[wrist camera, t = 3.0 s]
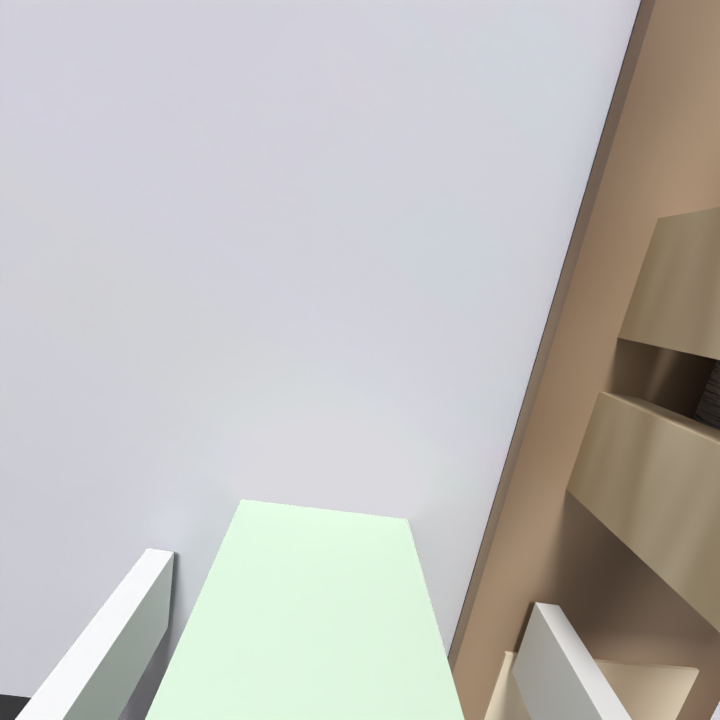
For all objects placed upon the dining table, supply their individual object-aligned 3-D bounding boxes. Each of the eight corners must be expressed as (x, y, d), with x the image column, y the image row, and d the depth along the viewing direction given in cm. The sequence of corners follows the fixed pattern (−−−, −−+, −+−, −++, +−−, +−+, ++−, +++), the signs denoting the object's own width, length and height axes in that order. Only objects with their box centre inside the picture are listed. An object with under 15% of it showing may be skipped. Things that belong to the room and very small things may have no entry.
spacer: (222, 658, 12) (107, 1032, 6) (241, 498, 10) (121, 774, 5) (371, 669, 12) (401, 1027, 6) (406, 518, 11) (485, 792, 5)
